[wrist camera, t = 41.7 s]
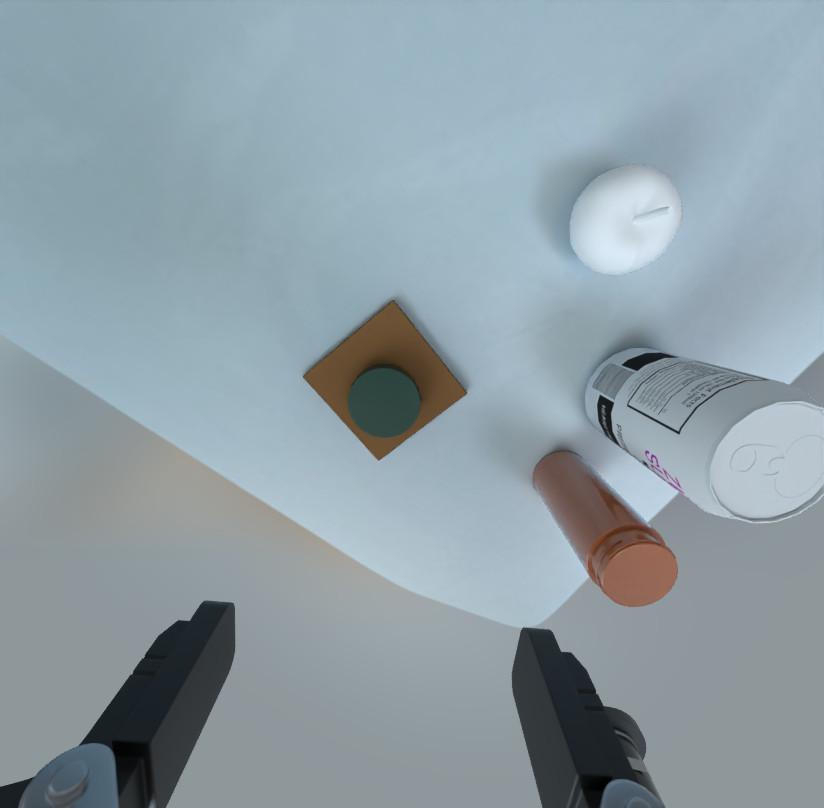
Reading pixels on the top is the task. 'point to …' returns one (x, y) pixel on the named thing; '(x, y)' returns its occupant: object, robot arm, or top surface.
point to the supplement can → (713, 432)
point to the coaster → (387, 344)
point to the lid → (384, 400)
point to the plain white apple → (625, 219)
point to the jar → (605, 531)
